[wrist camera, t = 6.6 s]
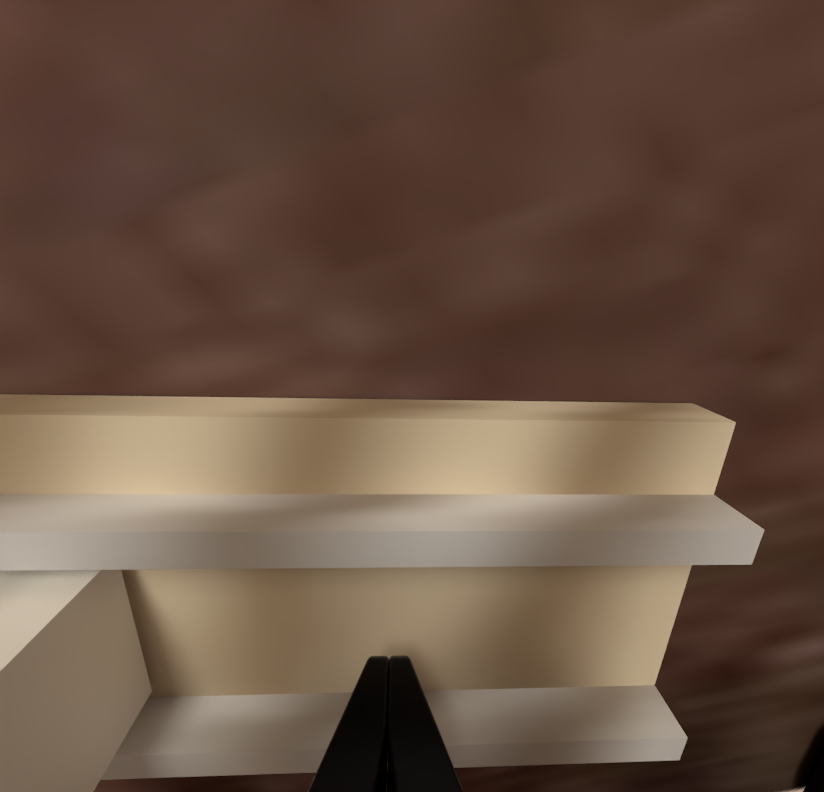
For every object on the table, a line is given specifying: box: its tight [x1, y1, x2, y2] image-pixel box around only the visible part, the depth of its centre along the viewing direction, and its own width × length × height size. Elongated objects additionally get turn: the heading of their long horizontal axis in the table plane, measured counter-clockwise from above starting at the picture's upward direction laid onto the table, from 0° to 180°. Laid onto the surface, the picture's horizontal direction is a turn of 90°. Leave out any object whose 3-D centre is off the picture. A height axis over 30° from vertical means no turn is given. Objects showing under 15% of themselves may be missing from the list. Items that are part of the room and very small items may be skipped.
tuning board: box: [0, 394, 764, 780], centre depth 9 cm, size 18×10×2 cm, turn 88°
